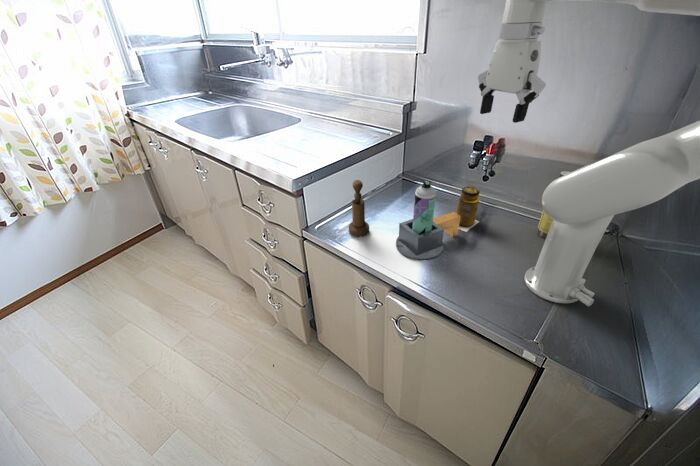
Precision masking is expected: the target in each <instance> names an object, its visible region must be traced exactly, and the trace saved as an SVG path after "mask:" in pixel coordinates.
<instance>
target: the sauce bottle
mask: <svg viewBox="0 0 700 466" xmlns="http://www.w3.org/2000/svg"><path fill="white" fill-rule="evenodd" d="M571 172H572V171H566V170H565V171H561V172H559V175H558V178H560V177H562V176H564V175H567V174H569V173H571ZM552 222H553V219H551V218H550V217H549V216H548V215H547V214H546V213H545V212H544V210H543V209H542V213H541V216H540V219H539V223H538V226H537V230H536V234H537V236H539V237H540V238H543V239H546V237H547V234H548V232H549V229H550V227H551V224H552Z"/></svg>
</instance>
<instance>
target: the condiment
mask: <svg viewBox="0 0 700 466" xmlns="http://www.w3.org/2000/svg"><path fill="white" fill-rule="evenodd" d="M480 192H481V191H480V189H479V188H477V187H475V186H465V187H462V189H461V193H460V195H459V197H458V203H457V208H456V213H457V214H458V215H460V216H461V218H460V223H459V229H458V230H461V231H462V232H465V233H467V232H469V231H470V230H471V229H472V228H473V227H475V226H476V225H477V224H478V223H480V221H479V220H477V219H476V216H477V213H478V208H479V207H478V206H479V203H480Z"/></svg>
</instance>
